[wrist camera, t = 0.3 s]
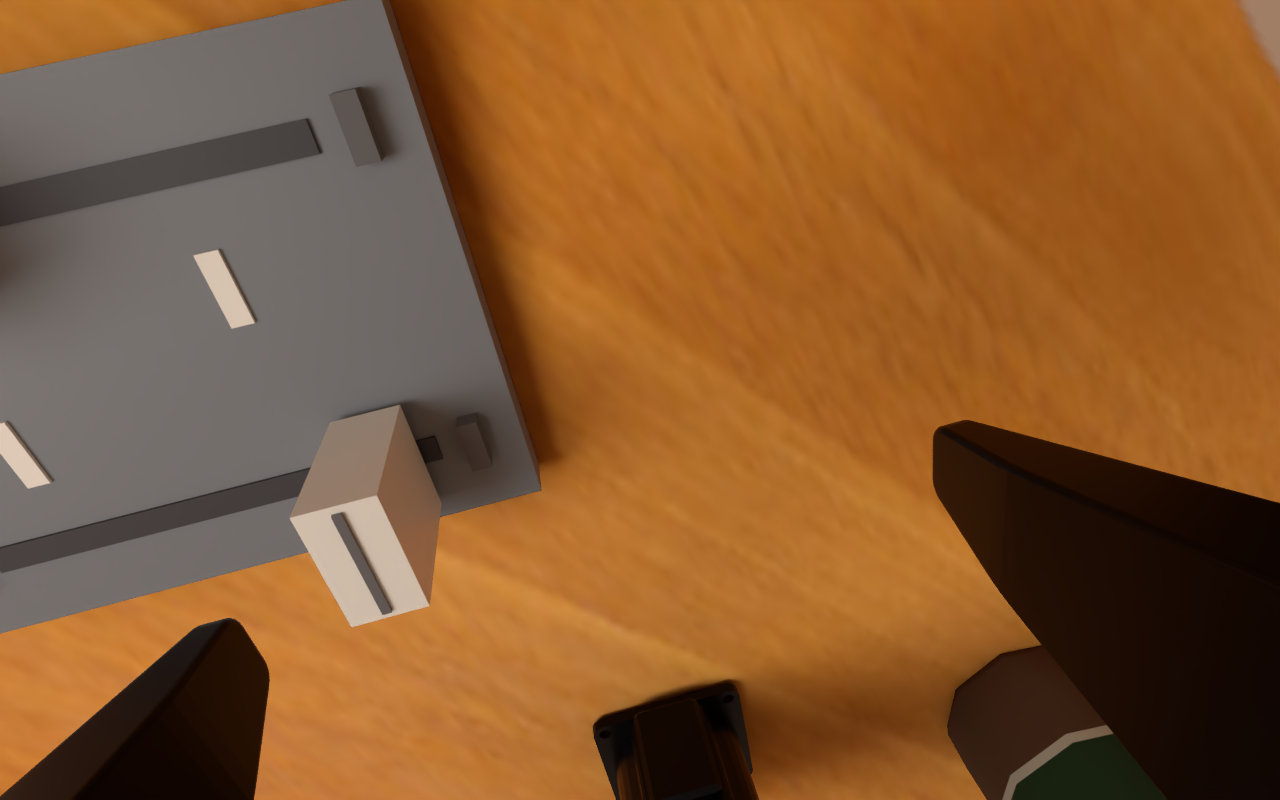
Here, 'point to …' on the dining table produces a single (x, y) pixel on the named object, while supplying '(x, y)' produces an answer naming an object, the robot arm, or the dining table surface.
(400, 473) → the fader
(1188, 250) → the dining table surface
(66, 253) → the console
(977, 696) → the beer bottle
